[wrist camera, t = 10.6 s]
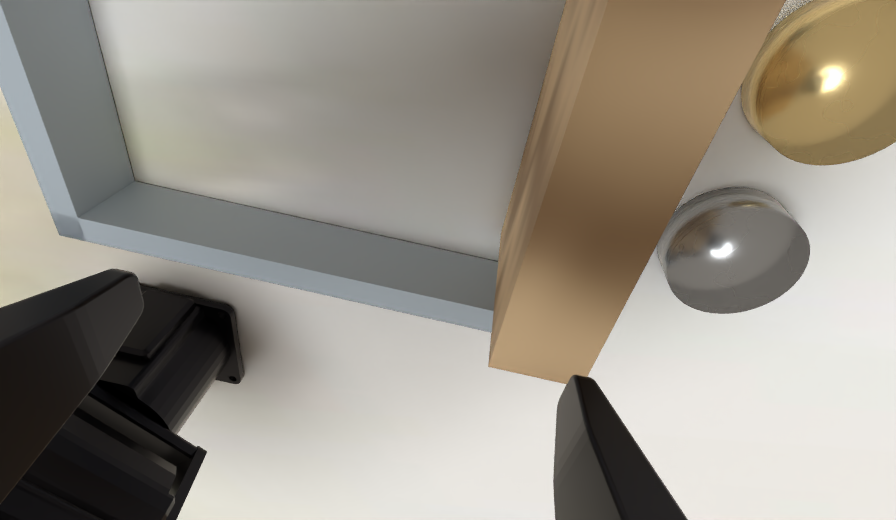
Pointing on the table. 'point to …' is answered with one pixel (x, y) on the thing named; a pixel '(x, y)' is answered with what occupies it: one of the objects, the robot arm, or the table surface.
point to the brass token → (826, 82)
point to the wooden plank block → (610, 166)
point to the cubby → (188, 215)
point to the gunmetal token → (732, 251)
